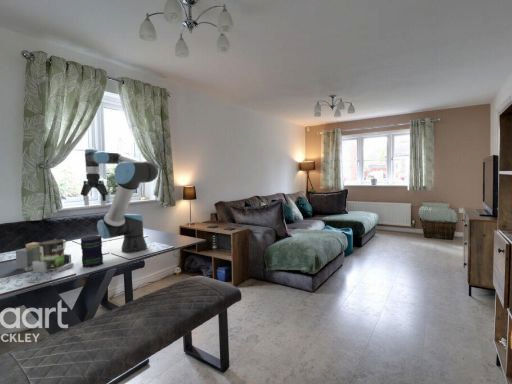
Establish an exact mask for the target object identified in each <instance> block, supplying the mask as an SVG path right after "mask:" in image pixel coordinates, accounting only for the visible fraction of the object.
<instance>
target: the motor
mask: <svg viewBox="0 0 512 384" xmlns="http://www.w3.org/2000/svg"><path fill="white" fill-rule="evenodd" d="M39 243H40V242H36V241H33V242H29V243H26V244H25V247H24V248H21V249H16V250H15V259H16V260H15V261H16V270H21V269H22V271H24V272H29V271H32V272H33V273H38V272H41V273H40V274H47V273H48V271H47V262H43V261H41V259H40V246H39ZM64 262H65V265H64V266H61V267H58V268H57V270H56V272H57V271H60V272H63V271H65V270H67V269H71V268H73V267H74V262H72V254H71V253H64ZM62 270H63V271H62ZM46 272H47V273H46Z"/></svg>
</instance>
